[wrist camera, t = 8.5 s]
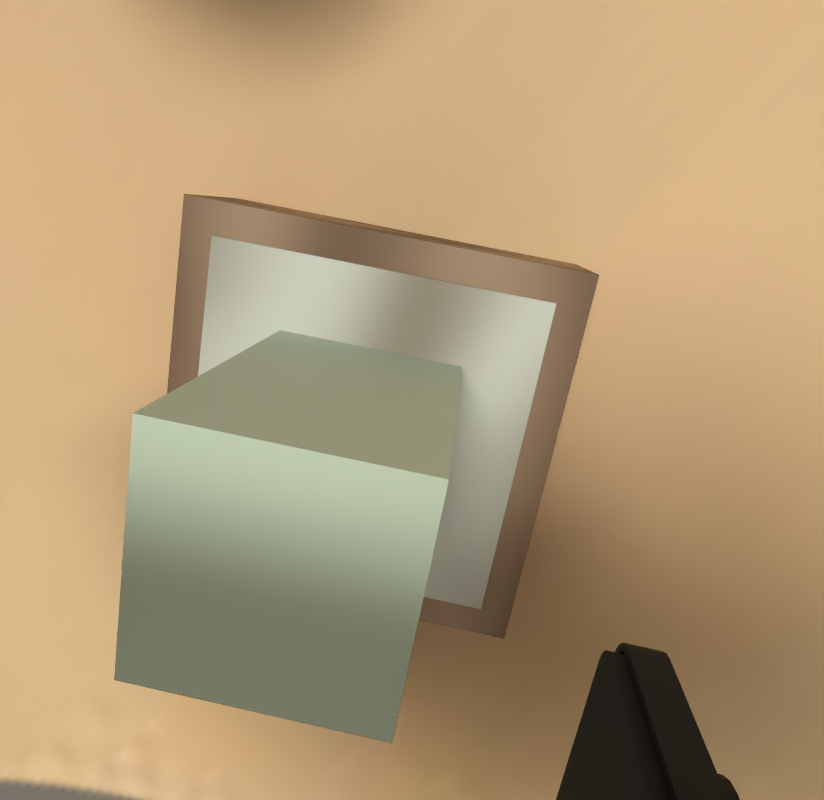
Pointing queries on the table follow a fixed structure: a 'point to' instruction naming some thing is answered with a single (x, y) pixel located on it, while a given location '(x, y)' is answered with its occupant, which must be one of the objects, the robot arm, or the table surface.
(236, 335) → the base block
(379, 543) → the green block
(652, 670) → the robot arm
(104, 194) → the table surface
